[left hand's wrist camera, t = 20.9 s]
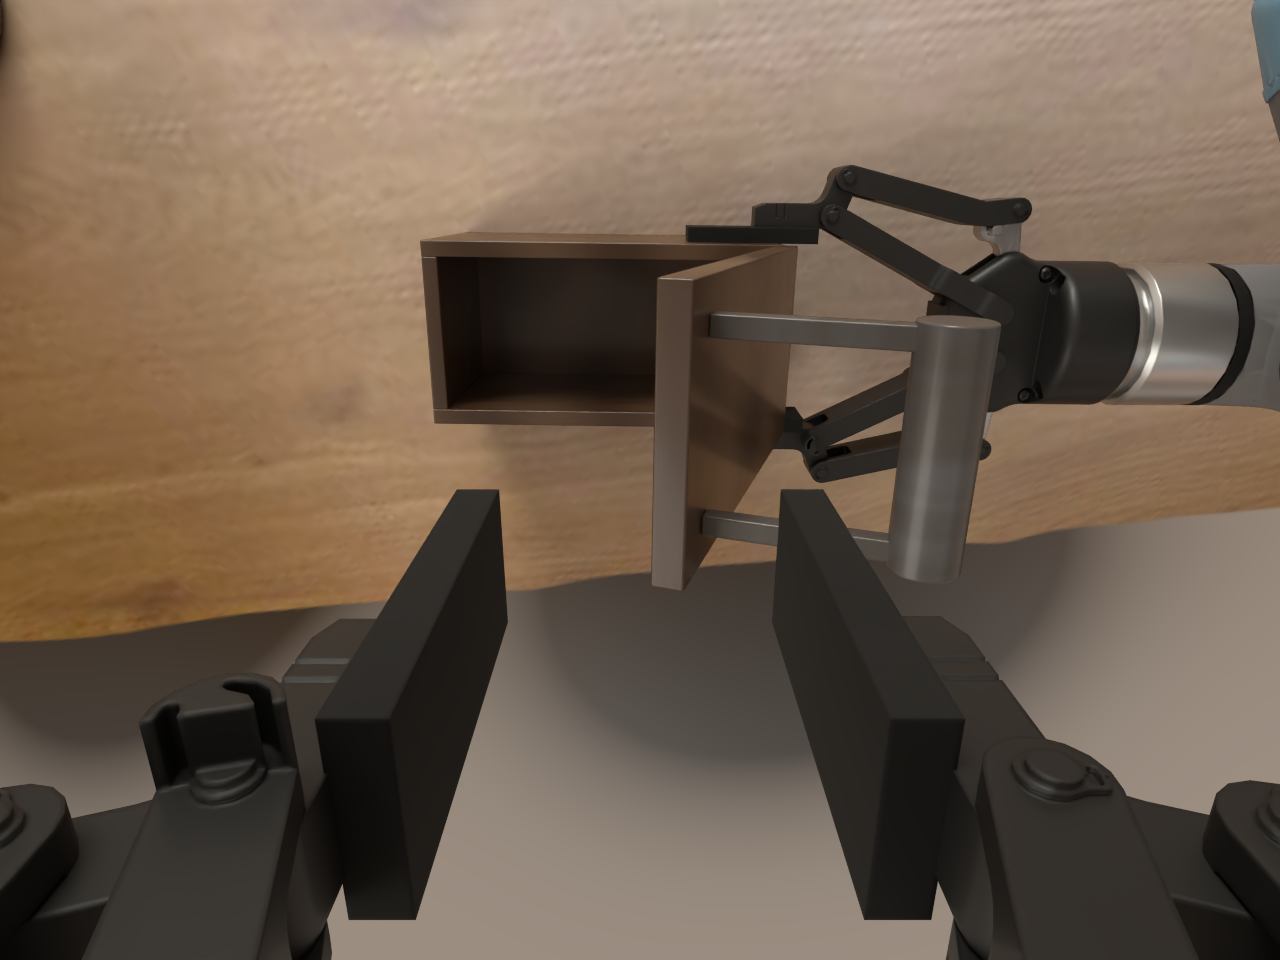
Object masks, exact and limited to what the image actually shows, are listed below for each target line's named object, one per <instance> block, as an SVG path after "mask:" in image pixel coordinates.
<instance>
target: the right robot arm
mask: <svg viewBox="0 0 1280 960" xmlns="http://www.w3.org/2000/svg"><path fill="white" fill-rule="evenodd" d="M1251 14H1252V23H1253V28H1254V33H1255V39H1256V45H1257V51H1258V57H1259V63H1260V69H1261V75H1262V81H1263V86H1264V91H1263V92H1262V93H1263V97H1264V99H1265V102H1266V103H1269V107H1270V110H1271V114H1272V117H1273V121H1274V124H1275V127H1276V131H1277V134H1278V138H1279V141H1280V0H1254V3H1253V6H1252V13H1251ZM852 196H853V197H857V198H861V199H864V200H868V201H872V202H876V203H879V204H883V205H887V206H890V207H894V208H898V209H901V210H905V211H909V212H912V213H916V214H920V215H923V216H927V217H931V218H935V219H938V220H942V221H946V222H949V223H954V224H960V225H972V226H973V232H974V235H975V237H976V238H977V239H979V240H982V241H987V242H988V243H990V244H991V245H992V248H993V253H992V254H990V255H989V256H987V257H986V258H984V259H983V260H981V261H980V262H978V263H977V264H975V265H974V266H972V267H971V268H969V269H968V270H966V271H965V272H963V273H962V274H959V273H957V272H955V271H953V270H951V269H949V268H947V267H945V266H943V265H941V264H939V263H937V262H936V261H934V260H932V259H931V258H929V257H927V256H925V255H924V254H922V253H920V252H919V251H917V250H915V249H913V248H912V247H910V246H908V245H907V244H905V243H903V242H901V241H900V240H898V239H896V238H894V237H893V236H891V235H889V234H888V233H886V232H884V231H882V230H881V229H879V228H877V227H876V226H874V225H872V224H870V223H869V222H867V221H865V220H864V219H862V218H860V217H858V216H857V215H855V214H853V213H851V212H850V211H848V210H847V208H848V205H849V203H850V201H851V199H852ZM1031 211H1032V205H1031V203H1030V202H1029V200H1027V199H1025V198H996V199H987V200H978V199H975V198H971V197H967V196H964V195H960V194H957V193H953V192H949V191H946V190H942V189H938V188H935V187H931V186H927V185H924V184H920V183H916V182H913V181H909V180H905V179H902V178H898V177H894V176H891V175H887V174H884V173H880V172H876V171H873V170H869V169H865V168H862V167H858V166H854V165H847V166H842V167H837V168H834V169H833V170H832V171H830V173H829V175H828V177H827V183H826V186H825V188H824V190H823V193H822V195H821V196H820V197H819V199H818V200H816V201H815V202H812V203H761V204H758V205H756V206H753V207H752V220H751V226H709V225H686V240H687V241H688V242H725V243H779V244H818V234H819V229H822V230H824V231H825V232H827V233H829V234H830V235H832V236H834V237H836V238H837V239H839V240H841V241H843V242H844V243H846V244H848V245H850V246H851V247H853V248H855V249H857V250H858V251H860V252H862V253H864V254H865V255H867V256H869V257H871V258H872V259H874V260H876V261H878V262H879V263H881V264H883V265H884V266H886V267H888V268H890V269H891V270H893V271H895V272H897V273H898V274H900V275H902V276H904V277H905V278H907V279H909V280H911V281H912V282H914V283H915V284H916V285H918V286H920V287H921V288H923V289H925V290H927V291H928V292H930V293H932V294H934V297H933V299H932V301H928V306H927V314H926V316H935V315H949V316H967V317H977V318H984V319H990V320H994V321H997V322H999V323H1000V324H1001V332H1000V338H999V344H998V350H997V356H996V362H995V368H994V374H993V380H992V386H991V392H990V398H989V404H988V410H987V416H986V422H985V428H984V434H983V440H982V446H981V452H980V458H979V460H983V459H986V458H987V457H988V456H989V454H990V452H991V445H990V443H988V442H987V441H986V440H985V438H986V434H987V431H988V427H989V424H990V420H991V417H992V413H993V412H996V411H998V410H1000V409H1002V408H1004V407H1007V406H1009V405H1013V404H1088V405H1089V404H1095V403H1098V402H1102V403H1104V404H1106V405H1221V406H1249V407H1260V408H1266V409H1272V410H1276V411H1279V412H1280V264H1231V265H1220V264H1214V263H1174V262H1123V263H1120V264H1118V265H1116V264H1114V263H1111V262H1097V261H1035V260H1033V259H1031V258H1029V257H1027V256H1026V255H1024V254H1023V253H1020V239H1021V223H1022V222H1024V221H1026V220H1027V219H1028V218H1029V216H1030V215H1031ZM909 370H910V367H909V368H907V369H905V370H904V372H903V373H902V374H900V375H898V376H896V377H894V378H892V379H889V380H887V381H885V382H883V383H881V384H879V385H877V386H874V387H872V388H870V389H868V390H866V391H864V392H861V393H859V394H857V395H855V396H853V397H851V398H849V399H846V400H844V401H842V402H840V403H838V404H836V405H834V406H831V407H829V408H827V409H825V410H823V411H821V412H819V413H816V414H814V415H812V416H810V417H808V418H806V419H803V418H802V417H801V415H800V414H799V413H798V411H797V410H796V408H795V407H786V408H785V421H784V432H783V434H782V435H781V437H780V439H779V440H778V442H777V443H776V445H775V446H774V448H773V449H795V450H798V451H800V452H801V453H802V456H803V459H804V460H803V462H804V464H805V466H806V468H807V469H808V471H809V473H810V474H811V476H812V478H813V479H814V480H815V481H816V482H819V483H824V482H829V481H834V480H839V479H844V478H848V477H853V476H858V475H863V474H868V473H873V472H877V471H882V470H887V469H892V468H897V463H898V455H899V447H900V440H901V432H902V431H898V432H894V433H889V434H884V435H879V436H875V437H870V438H865V439H860V440H856V441H851V442H846V443H841V444H837V445H832V444H834V443H836V442H838V441H841V440H843V439H845V438H847V437H849V436H852V435H854V434H856V433H858V432H860V431H862V430H865V429H867V428H869V427H871V426H873V425H876V424H878V423H880V422H882V421H884V420H887V419H889V418H891V417H893V416H895V415H897V414H900V413H902V412H904V409H905V401H906V393H907V386H908V378H909ZM830 445H832V446H830Z"/></svg>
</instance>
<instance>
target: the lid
mask: <svg viewBox="0 0 1280 960" xmlns="http://www.w3.org/2000/svg"><path fill="white" fill-rule="evenodd" d="M797 253H798V247H797V246H774V247H770V248H766V249H763V250H759V251H755V252H751V253H748V254H744V255H740V256H736V257H733V258H729V259H725V260H721V261H718V262H714V263H710V264H706V265H703V266H699V267H695V268H691V269H688V270H684V271H680V272H676V273H673V274H669V275H665V276H661V277H658V278H657V309H656V360H655V411H654V462H653V513H652V564H651V586H653V587H658V588H664V589H670V590H676V591H684V589H685V588H686V586H687V584H688V583H689V581H690V580H691V578H692V577H693V575H694V573H695V572H696V570H697V569H698V567H699V566H700V564H701V562H702V561H703V559H704V558H705V556H706V554H707V553H708V551H709V550H710V548H711V546H712V545H713V543H714V542H715V540H716V539H717V538H724V539H731V540H737V541H744V542H751V543H758V544H765V545H771V546H777V543H778V527H779V519H778V518H771V517H763V516H756V515H749V514H741V513H734V510H735V508H736V507H737V505H738V504H739V502H740V500H741V499H742V497H743V496H744V494H745V492H746V491H747V489H748V488H749V486H750V485H751V483H752V481H753V480H754V478H755V477H756V475H757V473H758V472H759V470H760V469H761V467H762V465H763V464H764V462H765V461H766V459H767V458H768V456H769V454H770V453H771V451H772V450H773V448H774V446H775V445H776V443H777V442H778V440H779V439H780V437H781V435H782V434H783V432H784V421H785V408H786V395H787V382H788V369H789V356H790V344H805V345H819V346H834V347H849V348H864V349H878V350H893V351H908V352H912V355H911V363H910V370H909V378H908V386H907V393H906V401H905V409H904V416H903V424H902V432H901V440H900V447H899V455H898V463H897V470H896V478H895V486H894V493H893V501H892V509H891V517H890V524H889V532H888V533H881V532H874V531H866V530H859V529H852V528H847V529H848V531H849V532H850V534H851V535H852V537H853V539H854V540H855V542H856V543H857V545H858V547H859V548H860V550H861V551H862V553H863V555H864V556H865V558H866V559H867V560H874V561H880V562H885V564H886V567H887V568H888V569H889V570H890V571H891V572H892V573H894V574H896V575H897V576H900V577H902V578H905V579H907V580H911V581H915V582H920V583H927V584H942V583H948V582H952V581H954V580H956V579H957V578H958V577H959V575H960V572H961V566H962V560H963V554H964V548H965V542H966V536H967V530H968V524H969V518H970V512H971V506H972V500H973V494H974V488H975V482H976V476H977V470H978V464H979V458H980V452H981V446H982V440H983V434H984V428H985V422H986V416H987V410H988V404H989V398H990V392H991V386H992V380H993V374H994V368H995V362H996V356H997V350H998V344H999V338H1000V332H1001V324H1000V323H999V322H997V321H994V320H990V319H984V318H977V317H967V316H949V315H935V316H924V317H920V318H917V320H916V322H901V321H883V320H865V319H848V318H830V317H812V316H795V315H793V304H794V291H795V278H796V266H797Z"/></svg>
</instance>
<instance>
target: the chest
mask: <svg viewBox="0 0 1280 960" xmlns="http://www.w3.org/2000/svg"><path fill="white" fill-rule="evenodd" d="M420 244H421V256H423V257H422V269H423V282H424V294H425V307H426V320H427V333H428V346H429V359H430V371H431V384H432V397H433V408H434V410H433V411H434V423H439V424H509V425H578V426H647V427H654V411H655V360H656V309H657V278H658V277H661V276H665V275H669V274H673V273H676V272H680V271H684V270H688V269H691V268H695V267H699V266H703V265H706V264H710V263H714V262H718V261H721V260H725V259H729V258H733V257H736V256H740V255H744V254H748V253H751V252H755V251H759V250H763V249H766V248H770V247H774V246H785V245H782V244H779V243H725V242H688V241H687V240H686V235H613V234H540V233H468V232H466V233H460V234H454V235H448V236H443V237H437V238H431V239H425V240H421V241H420Z"/></svg>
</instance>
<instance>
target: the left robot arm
mask: <svg viewBox="0 0 1280 960" xmlns="http://www.w3.org/2000/svg"><path fill="white" fill-rule="evenodd" d="M1 27H2V13H1V0H0V39H1ZM507 623H508V618H507V603H506V588H505V573H504V558H503V543H502V528H501V512H500V497H499V490H456V492H455V493H454V495H453V497H452V498H451V500H450V502H449V503H448V505H447V506H446V508H445V510H444V511H443V513H442V514H441V516H440V518H439V519H438V521H437V522H436V524H435V526H434V527H433V529H432V531H431V532H430V534H429V535H428V537H427V539H426V540H425V542H424V543H423V545H422V547H421V548H420V550H419V551H418V553H417V555H416V556H415V558H414V559H413V561H412V563H411V564H410V566H409V568H408V569H407V571H406V572H405V574H404V576H403V577H402V579H401V580H400V582H399V584H398V585H397V587H396V588H395V590H394V592H393V593H392V595H391V597H390V598H389V600H388V601H387V603H386V605H385V606H384V608H383V610H382V611H381V613H380V614H379V616H378V617H377V619H339V620H338V621H336V622H335V623H333V624H332V625H330V626H329V627H327V628H326V629H324V630H323V631H321V632H320V633H318V634H317V635H315V636H314V637H312V638H311V640H310V641H309V642H308V644H307V645H306V646H305V648H304V649H303V650H302V652H301V653H300V655H299V656H298V657H297V659H296V663H295V664H292V665H291V667H290V668H289V669H288V671H287V672H286V673H285V675H284V676H283V678H282V683H279V682H277V681H276V680H275V679H274V678H273V677H269V676H264V675H260V674H256V673H234V674H225V675H221V676H216V677H212V678H207V679H203V680H199V681H197V682H195V683H192V684H190V685H187V686H185V687H182V688H180V689H178V690H175V691H173V692H172V693H170V694H169V695H167V696H166V697H164V698H163V699H161V700H160V701H158V702H157V703H155V704H154V705H152V706H151V708H150V709H149V710H148V711H147V712H146V713H145V715H144V716H143V717H142V718H141V719H140V720H139V726H140V730H141V734H142V737H143V741H144V745H145V749H146V753H147V756H148V760H149V764H150V768H151V772H152V775H153V779H154V783H155V787H156V793H155V795H154V797H153V799H152V800H149V801H146V802H142V803H139V804H135V805H131V806H126V807H122V808H118V809H113V810H108V811H104V812H99V813H94V814H90V815H85V816H81V817H76V818H71V815H70V812H69V809H68V806H67V803H66V800H65V797H64V796H63V795H62V794H61V793H59V792H58V791H57V790H56V789H55V788H53V787H49V786H42V785H36V784H26V785H18V786H11V787H3V788H0V960H331V956H332V949H331V942H330V934H329V929H328V924H327V918H328V916H329V914H330V911H331V909H332V907H333V904H334V902H335V900H336V897H337V895H338V893H339V890H340V888H341V886H342V884H343V889H344V895H345V901H346V906H347V912H348V918H349V920H416V917H417V914H418V911H419V907H420V904H421V901H422V898H423V894H424V891H425V888H426V885H427V882H428V878H429V875H430V872H431V869H432V865H433V862H434V859H435V856H436V852H437V849H438V846H439V843H440V839H441V836H442V833H443V830H444V827H445V823H446V820H447V817H448V814H449V810H450V807H451V804H452V801H453V798H454V794H455V791H456V788H457V784H458V781H459V778H460V775H461V771H462V768H463V765H464V762H465V759H466V756H467V752H468V749H469V746H470V742H471V739H472V736H473V733H474V730H475V726H476V723H477V720H478V717H479V714H480V710H481V707H482V704H483V701H484V697H485V694H486V691H487V688H488V684H489V681H490V678H491V675H492V671H493V668H494V665H495V662H496V659H497V655H498V652H499V649H500V646H501V642H502V639H503V636H504V633H505V629H506V626H507ZM772 623H773V626H774V629H775V633H776V636H777V639H778V642H779V645H780V649H781V652H782V655H783V658H784V662H785V665H786V668H787V672H788V675H789V678H790V681H791V684H792V687H793V691H794V694H795V697H796V701H797V704H798V707H799V710H800V713H801V717H802V720H803V723H804V726H805V730H806V733H807V736H808V739H809V743H810V746H811V749H812V752H813V756H814V759H815V762H816V765H817V768H818V772H819V775H820V778H821V781H822V785H823V788H824V791H825V794H826V798H827V801H828V804H829V807H830V810H831V814H832V817H833V820H834V823H835V827H836V830H837V833H838V836H839V839H840V843H841V846H842V849H843V852H844V856H845V859H846V862H847V865H848V869H849V872H850V875H851V878H852V881H853V885H854V888H855V891H856V894H857V898H858V901H859V904H860V907H861V911H862V914H863V917H864V920H931V918H932V912H933V906H934V900H935V895H936V889H937V883H938V882H939V884H940V887H941V889H942V891H943V893H944V896H945V898H946V900H947V903H948V905H949V907H950V910H951V912H952V914H953V916H954V918H953V924H952V929H951V934H950V940H949V945H948V951H947V956H946V960H1280V784H1274V783H1267V782H1259V781H1251V780H1249V781H1242V782H1235V783H1229V784H1227V785H1226V786H1225V787H1224V788H1222V789H1221V790H1220V791H1219V792H1218V793H1217V794H1216V796H1215V800H1214V803H1213V806H1212V809H1211V812H1210V815H1206V814H1202V813H1197V812H1192V811H1188V810H1183V809H1179V808H1174V807H1169V806H1165V805H1160V804H1155V803H1151V802H1147V801H1143V800H1139V799H1136V798H1132V797H1129V796H1126V793H1125V791H1124V789H1123V788H1122V786H1121V785H1120V784H1119V782H1118V781H1117V780H1116V778H1115V777H1114V775H1113V774H1112V773H1111V771H1109V770H1108V769H1107V768H1105V767H1104V766H1103V765H1101V764H1100V763H1099V762H1097V761H1096V760H1095V759H1093V758H1092V757H1091V756H1089V755H1087V754H1085V753H1083V752H1081V751H1079V750H1077V749H1075V748H1072V747H1070V746H1068V745H1066V744H1063V743H1059V742H1056V741H1052V740H1048V739H1046V738H1045V737H1044V736H1043V734H1042V733H1041V732H1040V730H1039V729H1038V728H1037V726H1036V725H1035V724H1034V722H1033V721H1032V720H1031V718H1030V717H1029V716H1028V714H1027V713H1026V712H1025V710H1024V709H1023V708H1022V706H1021V705H1020V704H1019V702H1018V701H1017V700H1016V698H1015V697H1014V695H1013V694H1012V693H1011V691H1010V690H1009V689H1008V688H1007V686H1006V685H1005V683H1004V682H1003V681H1002V680H999V678H998V674H997V673H996V671H995V670H994V669H993V667H992V666H991V665H990V663H989V662H986V661H985V657H984V655H983V654H982V653H981V651H980V650H979V649H978V647H977V646H976V645H975V643H974V642H973V641H972V639H971V638H970V637H969V635H967V634H966V633H964V632H963V631H961V630H960V629H958V628H957V627H955V626H954V625H952V624H951V623H949V622H948V621H946V620H945V619H943V618H942V617H940V616H901V614H900V613H899V611H898V609H897V608H896V606H895V605H894V603H893V601H892V600H891V598H890V597H889V595H888V593H887V592H886V590H885V589H884V587H883V585H882V584H881V582H880V580H879V579H878V577H877V576H876V574H875V572H874V571H873V569H872V568H871V566H870V564H869V563H868V561H867V559H866V558H865V556H864V555H863V553H862V551H861V550H860V548H859V547H858V545H857V543H856V542H855V540H854V539H853V537H852V535H851V534H850V532H849V531H848V529H847V527H846V526H845V524H844V522H843V521H842V519H841V518H840V516H839V514H838V513H837V511H836V510H835V508H834V506H833V505H832V503H831V502H830V500H829V498H828V497H827V495H826V493H825V492H824V490H781V497H780V512H779V527H778V543H777V558H776V573H775V588H774V603H773V618H772Z"/></svg>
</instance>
